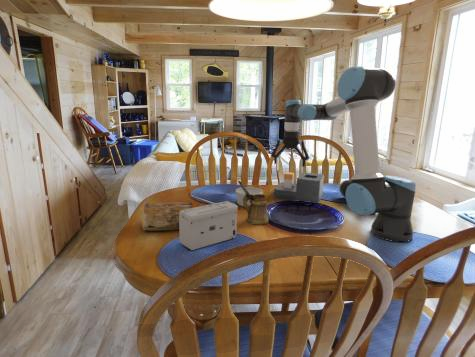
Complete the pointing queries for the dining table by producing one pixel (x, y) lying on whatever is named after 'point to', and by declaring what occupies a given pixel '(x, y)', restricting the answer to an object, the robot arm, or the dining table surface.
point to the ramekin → (241, 193)
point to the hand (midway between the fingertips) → (289, 171)
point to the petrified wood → (163, 215)
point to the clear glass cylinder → (288, 180)
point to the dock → (302, 188)
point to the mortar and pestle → (255, 207)
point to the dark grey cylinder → (344, 187)
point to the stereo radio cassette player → (207, 224)
